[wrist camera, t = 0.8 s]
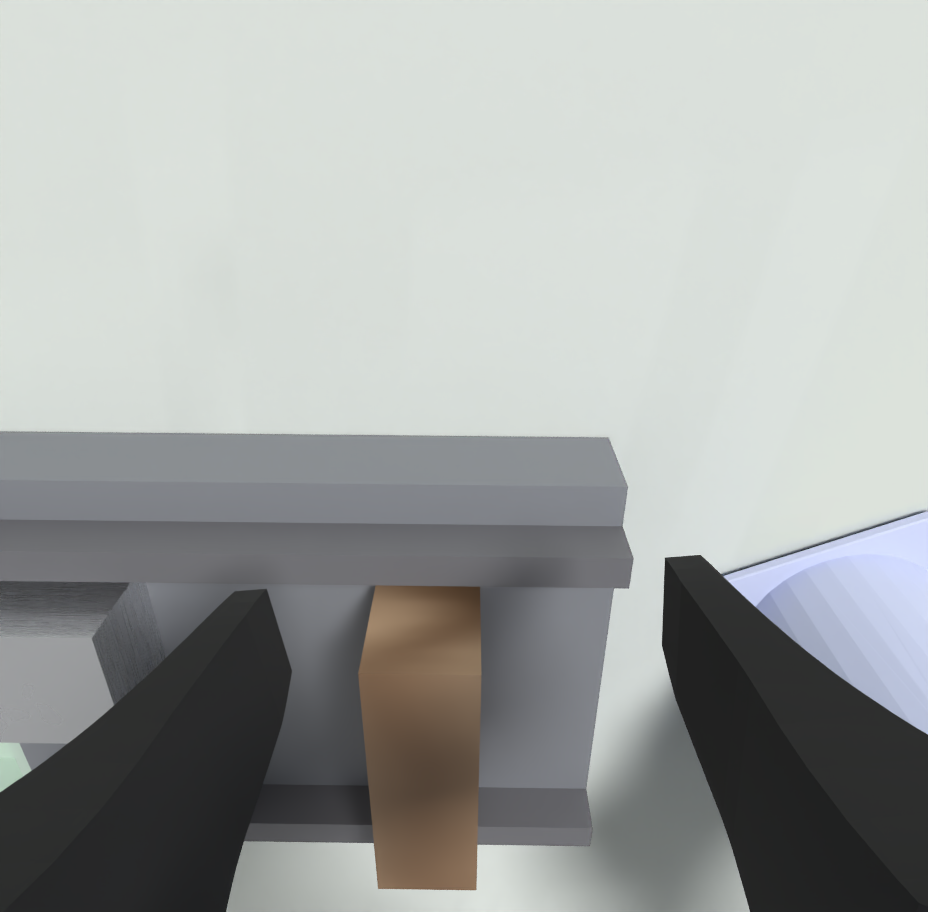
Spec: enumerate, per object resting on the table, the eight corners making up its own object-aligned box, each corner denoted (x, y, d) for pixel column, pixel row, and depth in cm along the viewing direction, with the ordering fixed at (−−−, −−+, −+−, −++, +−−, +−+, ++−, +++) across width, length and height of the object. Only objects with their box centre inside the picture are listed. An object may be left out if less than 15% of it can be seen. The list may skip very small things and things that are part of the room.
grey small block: (141, 566, 20) (91, 638, 17) (168, 665, 22) (127, 744, 19) (7, 564, 20) (-64, 636, 17) (45, 664, 22) (-13, 742, 19)
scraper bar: (479, 572, 20) (481, 675, 17) (475, 774, 24) (476, 890, 21) (378, 571, 20) (358, 673, 17) (392, 773, 24) (378, 888, 21)
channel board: (608, 437, 21) (639, 516, 17) (570, 759, 28) (586, 868, 24) (-28, 431, 21) (-142, 508, 17) (92, 752, 28) (31, 859, 25)
